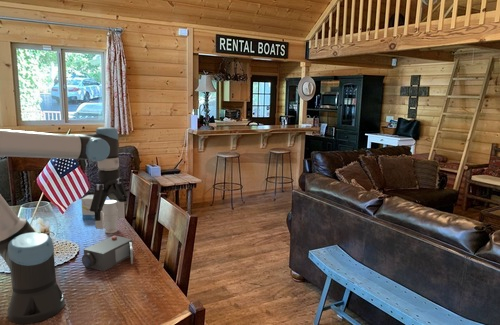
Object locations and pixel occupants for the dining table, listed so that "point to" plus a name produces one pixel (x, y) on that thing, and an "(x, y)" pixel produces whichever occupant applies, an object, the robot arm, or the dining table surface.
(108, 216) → the candle
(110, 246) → the camera body
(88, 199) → the ink box
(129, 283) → the dining table surface
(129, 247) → the side door
